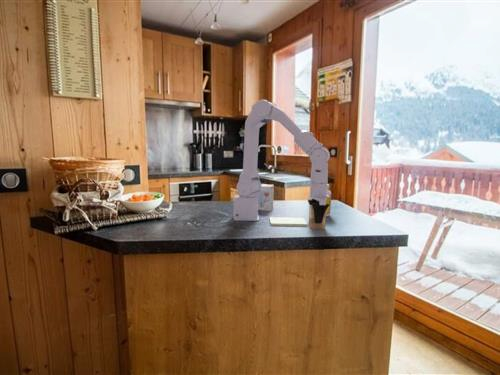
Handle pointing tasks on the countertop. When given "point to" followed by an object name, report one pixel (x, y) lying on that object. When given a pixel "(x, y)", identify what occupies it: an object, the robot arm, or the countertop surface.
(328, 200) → the supplement bottle
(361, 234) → the countertop surface
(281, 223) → the sage board
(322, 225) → the beech block
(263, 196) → the light bulb box
